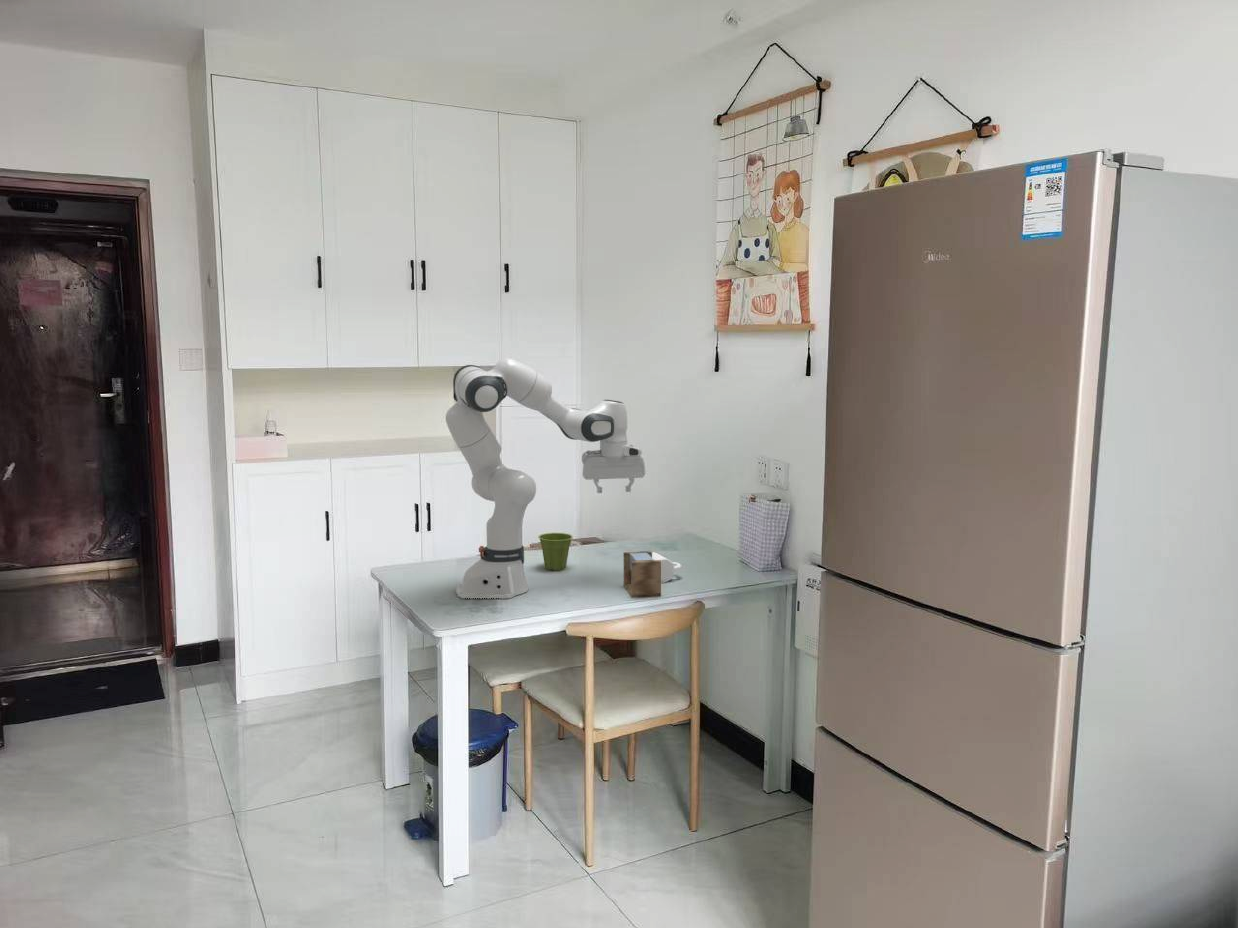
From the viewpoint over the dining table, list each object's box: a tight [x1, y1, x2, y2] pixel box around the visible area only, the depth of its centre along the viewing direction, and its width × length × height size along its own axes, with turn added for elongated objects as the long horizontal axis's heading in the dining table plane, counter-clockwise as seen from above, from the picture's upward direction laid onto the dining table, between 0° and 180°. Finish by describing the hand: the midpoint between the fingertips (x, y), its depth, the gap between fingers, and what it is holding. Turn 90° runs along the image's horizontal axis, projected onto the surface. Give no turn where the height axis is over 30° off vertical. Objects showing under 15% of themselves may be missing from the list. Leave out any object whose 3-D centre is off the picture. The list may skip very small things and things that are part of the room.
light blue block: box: [630, 553, 653, 570], centre depth 283 cm, size 6×10×5 cm, turn 11°
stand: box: [623, 550, 662, 599], centre depth 283 cm, size 9×14×11 cm, turn 11°
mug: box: [652, 551, 682, 584], centre depth 298 cm, size 12×10×8 cm
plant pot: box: [537, 532, 574, 571], centre depth 311 cm, size 12×12×11 cm
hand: (613, 492), depth 293 cm, fingers open, 8 cm apart
